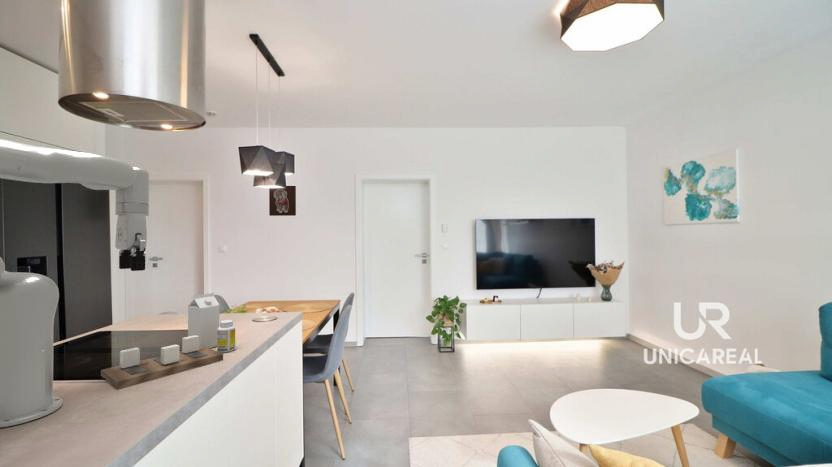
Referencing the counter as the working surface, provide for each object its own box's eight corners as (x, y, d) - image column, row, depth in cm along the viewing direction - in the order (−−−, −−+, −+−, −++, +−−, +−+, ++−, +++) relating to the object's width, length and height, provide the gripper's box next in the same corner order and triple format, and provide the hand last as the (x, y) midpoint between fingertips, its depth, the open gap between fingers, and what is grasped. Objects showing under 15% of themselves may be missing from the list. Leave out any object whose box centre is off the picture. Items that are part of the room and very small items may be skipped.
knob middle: (164, 364, 103) (164, 349, 103) (160, 362, 105) (160, 347, 105) (179, 360, 107) (179, 345, 107) (176, 359, 108) (176, 344, 108)
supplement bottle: (233, 346, 128) (233, 318, 128) (236, 350, 124) (236, 321, 124) (216, 349, 125) (216, 320, 125) (218, 354, 120) (218, 323, 120)
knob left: (122, 368, 100) (122, 352, 100) (119, 366, 102) (119, 350, 102) (139, 364, 104) (139, 348, 104) (136, 362, 105) (136, 347, 105)
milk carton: (187, 348, 126) (188, 295, 126) (207, 343, 132) (207, 292, 132) (199, 351, 123) (200, 296, 123) (219, 346, 129) (219, 293, 129)
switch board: (117, 389, 92) (117, 381, 92) (100, 376, 100) (101, 369, 101) (223, 360, 114) (223, 353, 114) (202, 351, 123) (202, 345, 123)
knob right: (185, 353, 113) (185, 339, 113) (182, 351, 115) (182, 337, 115) (198, 350, 117) (198, 336, 117) (195, 348, 118) (195, 335, 118)
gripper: (106, 210, 104) (105, 268, 104) (126, 208, 94) (125, 272, 94) (137, 212, 110) (137, 267, 110) (159, 209, 100) (159, 270, 100)
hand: (131, 269), depth 102 cm, fingers open, 9 cm apart
